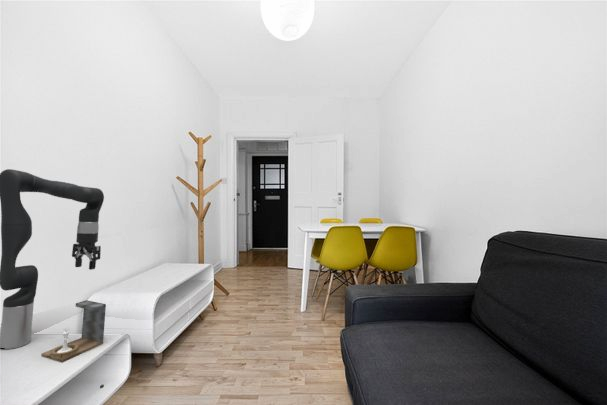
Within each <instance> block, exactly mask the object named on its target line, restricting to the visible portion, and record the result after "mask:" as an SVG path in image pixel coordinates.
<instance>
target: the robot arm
mask: <svg viewBox="0 0 607 405" xmlns="http://www.w3.org/2000/svg"><path fill="white" fill-rule="evenodd" d="M21 193H41V194H47V195H50V196H52V197H56V198H60V199H61V198H62V199H67V200H72V201H74V202H77V203H82V204H86V205H85V207H84V208H81V209H80V210H79V211H78V212H79V214H78V221H77V222H78V223H77V227H76V228H77V229H76V240H75V241H76V243H73V244H72V252H71V257H72V258H74V260H75V262H74V263H75V264H74V266H75V268H80V267H82V266H83V257H84V256H86V257H87V258H88V259H89V263H88V264H89V265H88V270H90V271H91V270H95V269H96V265H97V264H96V263H97V261H98V260H101V251H102V250H101V249H102V248H101V245H96V243H97V242H98V240H99V230H100V228H99V226H100V225H99V219H100V218H99V217H100V212H101V209H102V207H103V203H104V199H105V196H104V192H103V191H102V189H100V188H97V187H87V186H83V185H82V186H81V185H78V184H74V183H69V182H65V181H59V180H50V179H45V178H42V177H40V176H37V175H35V174H31V173H29V172H26V171H22V170H17V169H16V170H15V169H4V170H2V171H1V172H0V212H1V213H0V218H1V219H0V220H1V221H0V223H1V224H0V235H1V238H0V240H1V257H0V288H1V289H2V290H3V291H12V290H17V291H16V292H15V293H13V294H11V295H9V296H7V297H6V298H4V299H3V303H2V315H1V324H0V348H5V349H4V350H11V349H16V348H20V347H24V346H26V345H28V344H29V343H31V340H32V331H33V317H34V303H35V302H34V301H35V297H36V295H37V294H36V293H37V287H38V281H39V280H38V279H39V271H38V267H36V266H35V265H31V264H29V265H23V266H16V264H17V263H16V261H17V258H18V256H19V254H20V252H21V251H22V250H23V248H24V247H25V246H26V245H27V244H28V242H29V240H31V238H32V235H33V225H32V224H33V221H32V218H31V215H29V212H27V209H25V207H24V205H23V204H22V200H21ZM18 289H19V290H18Z"/></svg>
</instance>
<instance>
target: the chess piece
mask: <svg viewBox="0 0 607 405" xmlns="http://www.w3.org/2000/svg"><path fill="white" fill-rule="evenodd" d="M69 330H70V329H68V327H65V328H63V331H64V332H62V335H63V337H62V339H61V340H62V341H63V343H62V345H63V347H62V349H60V350H59V351H57V353H63V352H67V351H70V350H72V348H69V347H68V346H67V343H68V339H70V337H69V334H70V331H69Z"/></svg>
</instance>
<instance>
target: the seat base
mask: <svg viewBox="0 0 607 405" xmlns="http://www.w3.org/2000/svg"><path fill="white" fill-rule="evenodd" d="M75 307H76V308H79V309H83V311H82V312H83V313H82V314H83V315H82V325H81V326H82V327H81V337H80V338H77V339H75V340H71V341H70V342H67V346H68V347H69V348H72V350H70V351H67V352H63V353H57V351H59V350H60V349H62V347H63V344H61V345H59V346H56V347H54V348H52V349H50V350H48V351H45V352H42V353H41V356H40V357H42V358H46V359H49V360H53V361H55V362H58V363H64V362H66V361H69V360H71V359H73V358H75V357H77V356H79V355H82V354H84V353H86V352H89V351H91V350H93V349H96V348H97V347H99V346H102V345H103V344H104V338H105V337H104V335H105V321H106V309H107V308H106V307H107V305H106V303H102V302H96V301H93V300H82V301H78V302H76V303H75Z"/></svg>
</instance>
